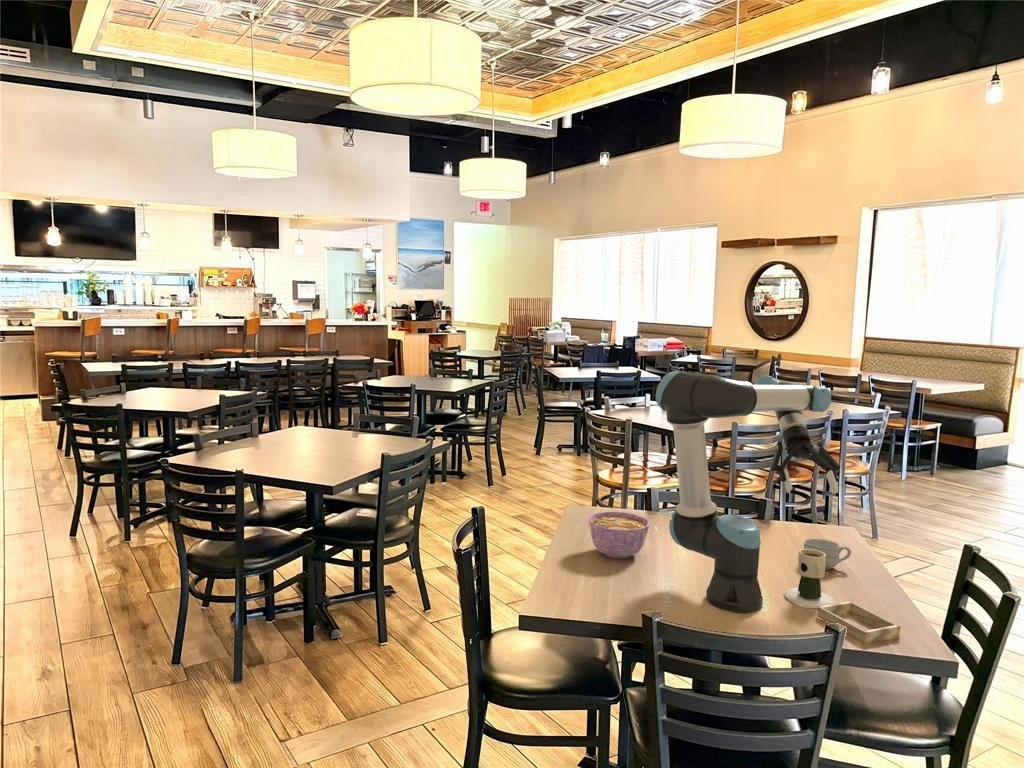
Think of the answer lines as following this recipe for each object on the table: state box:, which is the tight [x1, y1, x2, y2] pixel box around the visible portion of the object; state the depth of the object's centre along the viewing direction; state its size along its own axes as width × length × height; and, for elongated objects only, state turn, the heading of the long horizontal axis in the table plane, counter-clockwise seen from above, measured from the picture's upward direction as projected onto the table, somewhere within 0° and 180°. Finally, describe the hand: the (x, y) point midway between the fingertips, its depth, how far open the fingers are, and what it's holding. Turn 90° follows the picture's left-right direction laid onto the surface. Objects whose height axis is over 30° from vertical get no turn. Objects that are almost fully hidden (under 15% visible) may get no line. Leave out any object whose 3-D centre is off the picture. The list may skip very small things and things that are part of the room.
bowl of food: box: [588, 511, 650, 559], centre depth 232 cm, size 20×20×12 cm
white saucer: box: [783, 587, 835, 610], centre depth 201 cm, size 13×13×1 cm
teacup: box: [803, 538, 852, 571], centre depth 226 cm, size 14×11×8 cm
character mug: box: [797, 548, 826, 599], centre depth 200 cm, size 11×7×13 cm, turn 0°
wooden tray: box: [816, 600, 901, 644], centre depth 184 cm, size 12×16×3 cm
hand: (812, 491), depth 206 cm, fingers open, 13 cm apart
